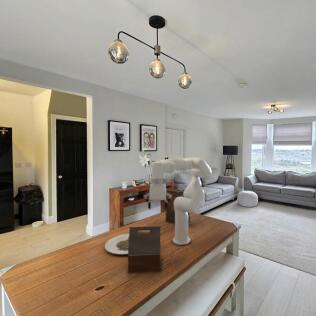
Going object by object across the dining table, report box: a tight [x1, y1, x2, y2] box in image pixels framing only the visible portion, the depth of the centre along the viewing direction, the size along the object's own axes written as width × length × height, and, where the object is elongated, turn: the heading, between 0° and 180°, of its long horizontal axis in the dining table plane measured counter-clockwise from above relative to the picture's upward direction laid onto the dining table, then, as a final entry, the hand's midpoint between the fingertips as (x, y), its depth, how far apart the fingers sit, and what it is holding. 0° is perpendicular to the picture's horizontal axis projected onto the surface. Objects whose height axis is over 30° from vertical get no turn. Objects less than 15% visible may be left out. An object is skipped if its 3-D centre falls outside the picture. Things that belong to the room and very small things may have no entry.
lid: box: [127, 225, 162, 256], centre depth 103 cm, size 14×17×5 cm
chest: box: [127, 242, 162, 273], centre depth 110 cm, size 13×17×9 cm
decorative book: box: [165, 188, 191, 226], centre depth 174 cm, size 23×7×30 cm, turn 56°
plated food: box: [104, 232, 129, 255], centre depth 132 cm, size 30×30×3 cm
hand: (157, 208), depth 121 cm, fingers open, 9 cm apart
